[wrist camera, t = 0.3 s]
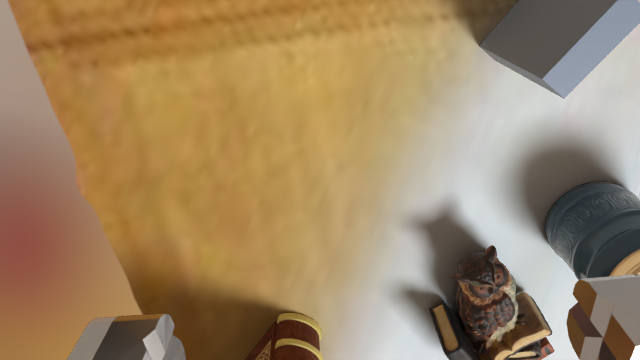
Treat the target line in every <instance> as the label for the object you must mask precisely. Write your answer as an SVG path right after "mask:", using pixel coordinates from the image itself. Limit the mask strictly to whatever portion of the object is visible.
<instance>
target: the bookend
mask: <svg viewBox="0 0 640 360" xmlns="http://www.w3.org/2000/svg"><path fill="white" fill-rule="evenodd" d="M496 257H497V252H496V248H495V247H494V246H493V245H492V246H490V247H489V248H488V249H487V250H486V251H485V253H482V252H479V253H476V252H474V253H471V254H469V255H468V256H466V257H464V258H463V259H462V261H461V262H460V263H459V265H458V272H457V273H455V274H453V275H451V276H450V277H451V278H452V279H454V280H456V281H458V283H457V284H456V287H455V296H456V305H457V313H458V315H459V316H460V317H461V320H462V322H463V325H462V324H461V323H460V322H459V320H458V319H457V318H456V317H455V315H454V314H453V313H452V311H451V310H450V309H449V307H448V306H447V305H446V303H445V302H444V301H442V304H441V305H440V306H438V307H436V308H433V309H431V308H429V310H430V313H431V316H432V319H433V322H434V325H435V328H436V331H437V334H438V337H439V340H440V343H441V346H442V348H443V351H444V353H445V355H446V356H447V358H448V359H449V360H541V359H543V358H545V357H546V356H548V355H549V354H551V353H553V352H554V349H553V347H552V346H551V344H550V343H549V341H548V340H547V338H546V336H550V335H552V330H551V329H550V327H549V325H548V323H547V321H546V320H545V318H544V316H543V314H542V313H541V311H540V309H539V307H538V306H537V305H536V303H535V301H534V299H533V298H532V297H531V296H529V295H528V294H527V293H524V292H522V293H520V294H519V295H517V296H515V291H516V281H515V279H514V278H513V277H512V275H511V274H509V271H508V269H507V268H506V266H504V264H502V263H501V262H500V261H499V260H498V258H496ZM463 326H464V327H463Z"/></svg>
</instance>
